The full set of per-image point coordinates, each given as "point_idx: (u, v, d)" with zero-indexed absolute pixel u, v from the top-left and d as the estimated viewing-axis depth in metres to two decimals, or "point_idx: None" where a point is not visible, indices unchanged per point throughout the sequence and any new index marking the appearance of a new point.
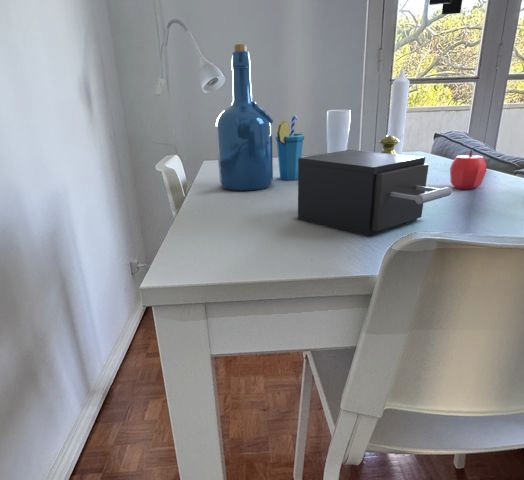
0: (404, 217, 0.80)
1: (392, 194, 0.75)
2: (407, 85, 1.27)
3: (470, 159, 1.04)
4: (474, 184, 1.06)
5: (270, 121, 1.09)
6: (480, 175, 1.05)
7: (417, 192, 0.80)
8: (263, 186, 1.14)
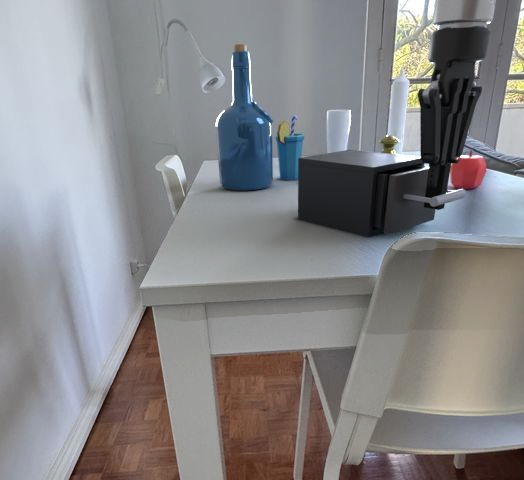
0: (417, 220, 0.79)
1: (405, 196, 0.73)
2: (407, 85, 1.27)
3: (470, 159, 1.04)
4: (474, 184, 1.06)
5: (270, 121, 1.09)
6: (480, 175, 1.05)
7: None
8: (263, 186, 1.14)
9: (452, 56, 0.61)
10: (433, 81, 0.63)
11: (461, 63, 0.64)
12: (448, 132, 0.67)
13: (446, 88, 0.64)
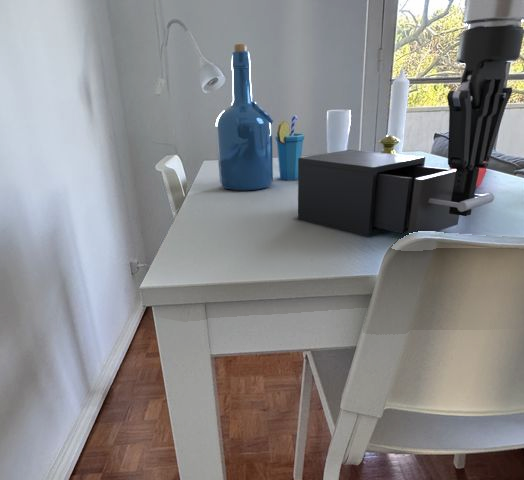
0: (441, 224, 0.75)
1: (431, 201, 0.70)
2: (407, 85, 1.27)
3: None
4: None
5: (270, 121, 1.09)
6: (480, 175, 1.05)
7: None
8: (263, 186, 1.14)
9: (484, 56, 0.59)
10: (463, 82, 0.61)
11: (493, 63, 0.61)
12: (477, 136, 0.65)
13: (477, 90, 0.61)
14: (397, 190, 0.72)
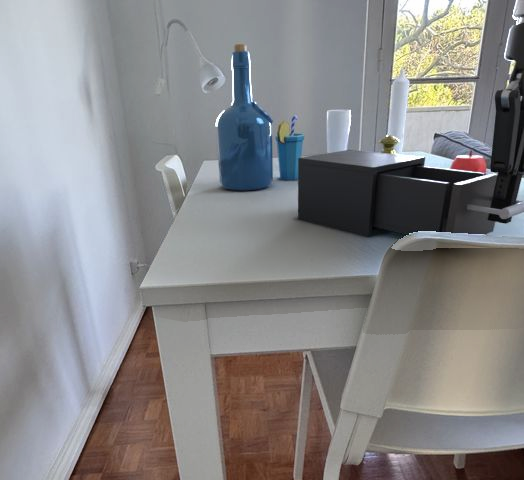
0: (477, 232, 0.71)
1: (469, 207, 0.66)
2: (407, 85, 1.27)
3: (470, 159, 1.04)
4: None
5: (270, 121, 1.09)
6: None
7: None
8: (263, 186, 1.14)
9: None
10: (513, 81, 0.56)
11: None
12: None
13: None
14: (432, 196, 0.68)
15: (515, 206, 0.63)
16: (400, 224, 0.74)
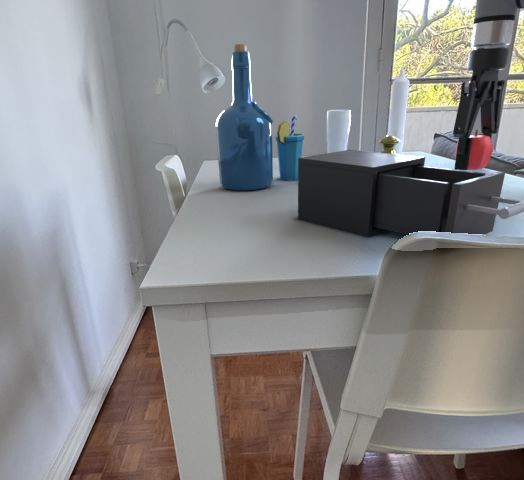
0: (476, 232, 0.71)
1: (469, 207, 0.66)
2: (407, 85, 1.27)
3: (476, 138, 1.01)
4: (481, 164, 1.03)
5: (270, 121, 1.09)
6: (487, 155, 1.02)
7: (491, 204, 0.71)
8: (263, 186, 1.14)
9: (484, 66, 0.94)
10: None
11: (490, 71, 0.97)
12: (475, 116, 0.99)
13: (480, 87, 0.96)
14: (432, 196, 0.68)
15: (514, 206, 0.63)
16: (400, 224, 0.74)
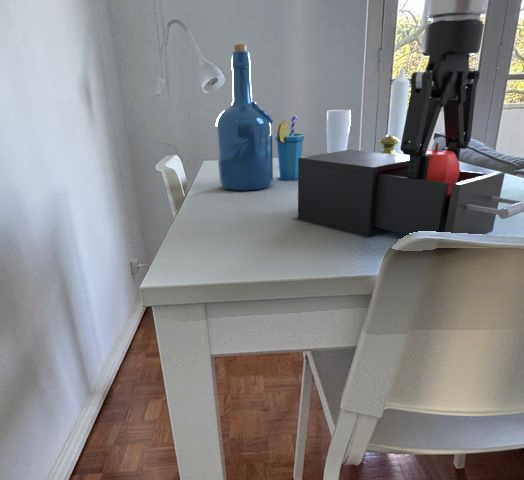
0: (476, 232, 0.71)
1: (468, 207, 0.66)
2: (407, 85, 1.27)
3: (435, 156, 0.69)
4: None
5: (270, 121, 1.09)
6: (451, 180, 0.70)
7: (491, 204, 0.71)
8: (263, 186, 1.14)
9: (446, 49, 0.62)
10: None
11: (455, 56, 0.64)
12: (434, 123, 0.66)
13: (440, 81, 0.64)
14: (432, 196, 0.68)
15: (514, 206, 0.63)
16: (399, 224, 0.74)
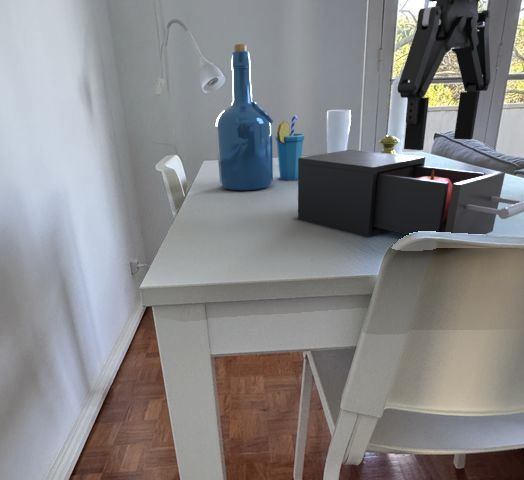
0: (476, 232, 0.71)
1: (469, 207, 0.66)
2: None
3: None
4: None
5: (270, 121, 1.09)
6: (447, 207, 0.72)
7: (491, 204, 0.71)
8: (263, 186, 1.14)
9: None
10: None
11: (464, 0, 0.61)
12: (436, 66, 0.62)
13: (448, 27, 0.61)
14: (432, 196, 0.68)
15: (514, 206, 0.63)
16: (400, 224, 0.74)
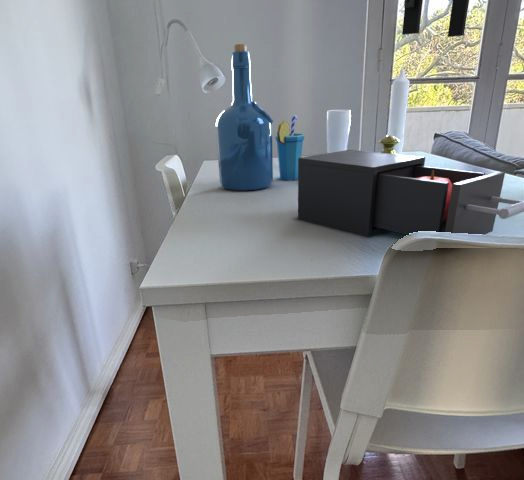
0: (476, 232, 0.71)
1: (469, 207, 0.66)
2: (407, 85, 1.27)
3: None
4: None
5: (270, 121, 1.09)
6: (447, 207, 0.72)
7: (491, 204, 0.71)
8: (263, 186, 1.14)
9: None
10: None
11: None
12: None
13: None
14: (432, 196, 0.68)
15: (514, 206, 0.63)
16: (400, 224, 0.74)
